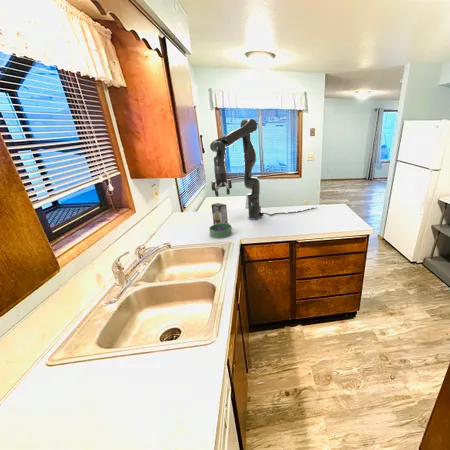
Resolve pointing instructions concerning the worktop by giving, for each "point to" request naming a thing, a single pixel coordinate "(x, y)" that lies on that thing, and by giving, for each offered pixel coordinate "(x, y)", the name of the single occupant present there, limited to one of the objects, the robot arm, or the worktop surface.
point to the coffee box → (219, 213)
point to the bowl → (222, 233)
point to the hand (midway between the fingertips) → (222, 195)
